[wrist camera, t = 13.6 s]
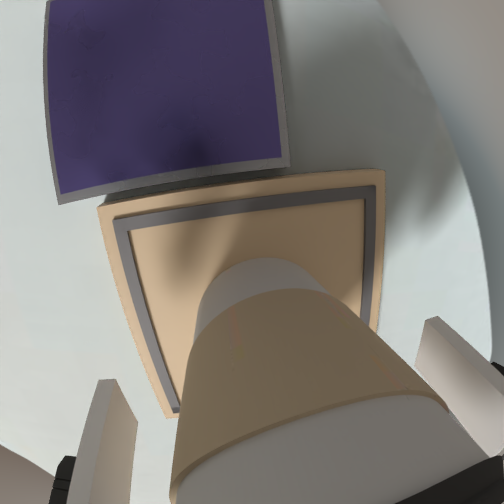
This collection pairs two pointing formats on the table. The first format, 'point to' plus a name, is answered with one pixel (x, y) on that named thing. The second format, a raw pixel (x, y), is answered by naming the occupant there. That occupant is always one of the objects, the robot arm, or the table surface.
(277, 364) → the coffee cup
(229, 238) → the square wooden board
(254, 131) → the ink pad
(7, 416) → the table surface
